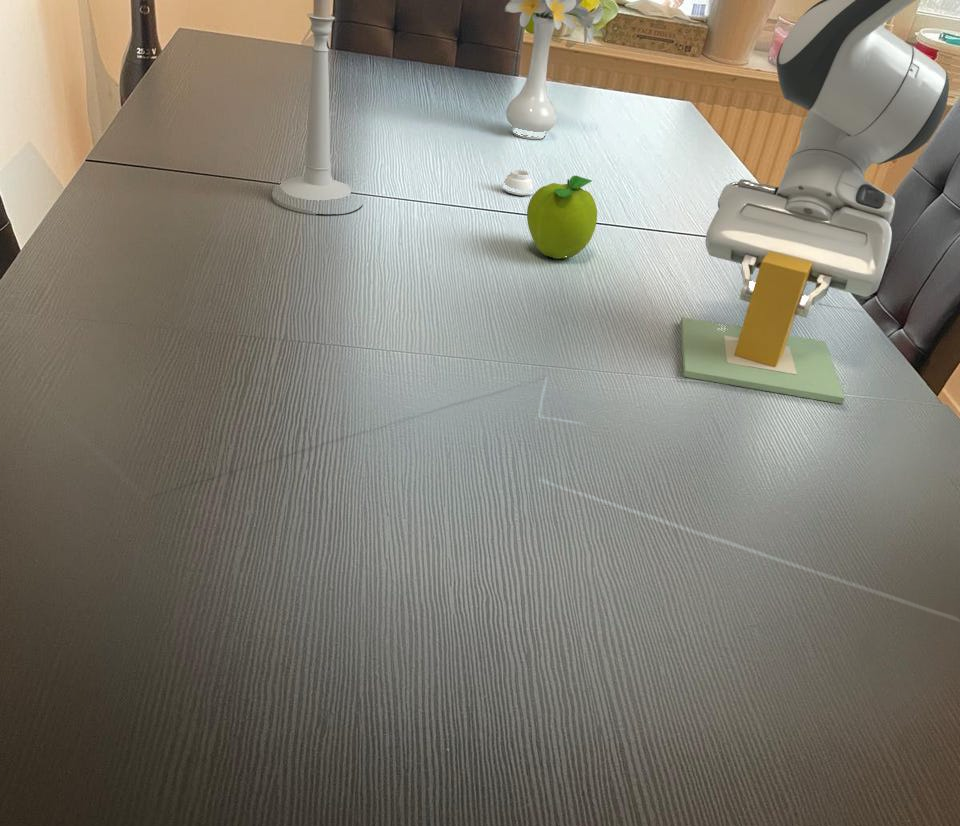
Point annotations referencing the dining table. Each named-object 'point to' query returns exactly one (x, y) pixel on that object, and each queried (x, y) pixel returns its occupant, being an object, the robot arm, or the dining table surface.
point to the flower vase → (544, 58)
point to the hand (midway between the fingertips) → (773, 306)
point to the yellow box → (772, 308)
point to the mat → (795, 374)
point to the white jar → (519, 182)
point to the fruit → (562, 218)
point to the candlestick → (317, 124)
